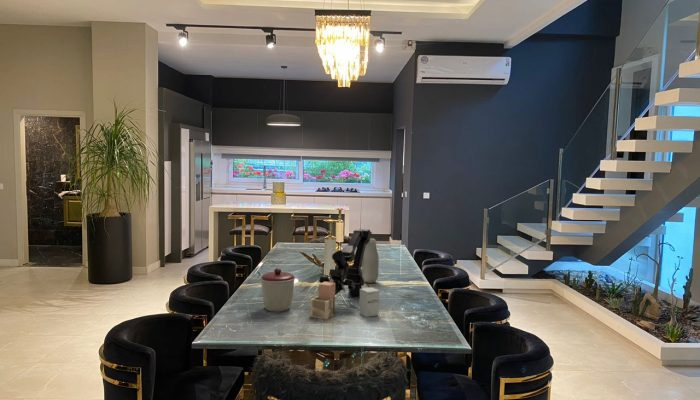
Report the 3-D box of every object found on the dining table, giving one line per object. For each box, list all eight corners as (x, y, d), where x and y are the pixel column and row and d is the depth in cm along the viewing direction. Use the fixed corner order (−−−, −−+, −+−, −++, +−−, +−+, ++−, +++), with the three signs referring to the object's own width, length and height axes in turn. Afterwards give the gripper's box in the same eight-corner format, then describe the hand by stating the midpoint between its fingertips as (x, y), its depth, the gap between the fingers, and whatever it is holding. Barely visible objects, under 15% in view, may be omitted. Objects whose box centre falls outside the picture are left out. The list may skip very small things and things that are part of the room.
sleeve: (317, 312, 251) (317, 295, 250) (334, 314, 247) (334, 297, 246) (310, 316, 244) (310, 299, 243) (327, 319, 240) (327, 301, 239)
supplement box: (366, 317, 243) (366, 292, 242) (359, 313, 250) (359, 288, 249) (379, 315, 247) (379, 290, 246) (371, 311, 253) (372, 286, 252)
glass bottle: (371, 279, 318) (372, 236, 316) (381, 283, 310) (381, 238, 307) (358, 281, 313) (359, 237, 310) (368, 285, 304) (368, 239, 302)
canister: (293, 302, 266) (293, 263, 264) (297, 313, 248) (297, 271, 247) (259, 304, 262) (259, 265, 260) (260, 315, 244) (260, 273, 243)
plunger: (324, 308, 254) (324, 281, 252) (335, 310, 251) (335, 282, 250) (318, 311, 248) (319, 284, 247) (329, 313, 246) (329, 285, 245)
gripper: (320, 261, 261) (310, 286, 252) (353, 264, 254) (343, 290, 245) (327, 272, 269) (317, 297, 260) (359, 276, 261) (350, 302, 252)
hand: (331, 297), depth 254 cm, fingers closed
